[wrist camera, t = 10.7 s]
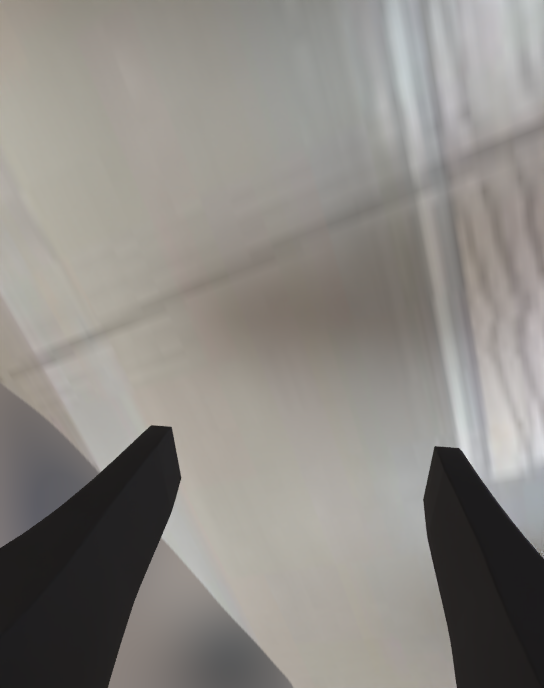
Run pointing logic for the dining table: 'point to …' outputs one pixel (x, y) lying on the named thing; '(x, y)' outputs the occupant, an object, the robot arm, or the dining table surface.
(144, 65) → the dining table surface
